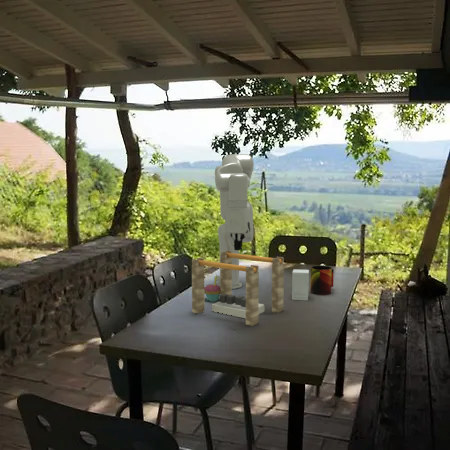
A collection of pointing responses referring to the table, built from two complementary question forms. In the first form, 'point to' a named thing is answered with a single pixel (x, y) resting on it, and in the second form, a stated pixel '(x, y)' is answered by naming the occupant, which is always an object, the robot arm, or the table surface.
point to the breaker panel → (233, 306)
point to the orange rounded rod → (223, 265)
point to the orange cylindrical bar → (250, 257)
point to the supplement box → (300, 284)
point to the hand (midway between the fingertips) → (238, 249)
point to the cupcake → (212, 291)
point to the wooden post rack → (251, 286)
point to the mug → (321, 280)
